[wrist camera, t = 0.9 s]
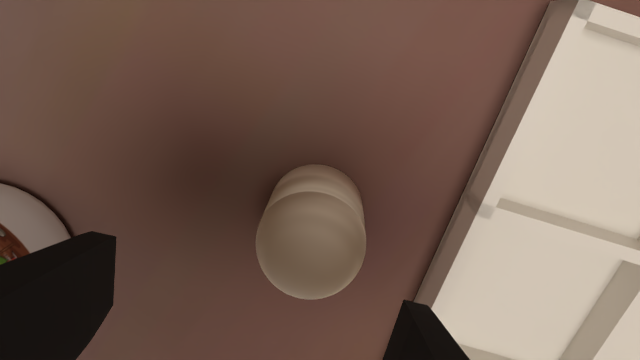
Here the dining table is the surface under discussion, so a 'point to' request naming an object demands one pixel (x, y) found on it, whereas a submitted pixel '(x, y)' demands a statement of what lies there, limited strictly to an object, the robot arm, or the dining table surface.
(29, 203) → the milk bottle
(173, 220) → the dining table surface
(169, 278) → the dining table surface
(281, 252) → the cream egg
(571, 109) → the white compartment tray
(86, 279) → the robot arm
